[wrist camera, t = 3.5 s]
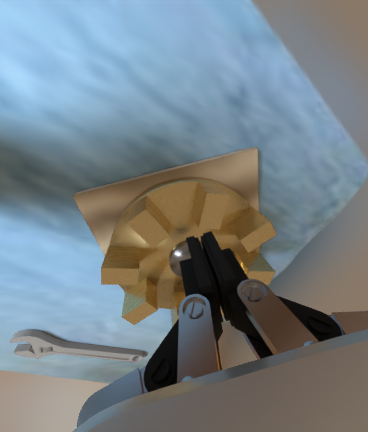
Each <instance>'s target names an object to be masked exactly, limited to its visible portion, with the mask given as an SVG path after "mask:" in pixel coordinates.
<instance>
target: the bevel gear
mask: <svg viewBox="0 0 368 432" xmlns="http://www.w3.org/2000/svg"><path fill="white" fill-rule="evenodd" d="M210 231H212V233H213V235H214V237H215V238H216V240H217V242H218V244H219V246H220V248H221V250H223V249H227V248H230V249H231V251H232V252H233V254H234V255H235V257H236V259H237V260H238V262H239V264H240V265H241V267H242V268H243V270H244V272H245V273H246V275H247V277H248V278H249V279H256V280H259V281H261V282H263V283H264V284H266V285H269V284H270V282H271V280H272V278H273V276H274V274H275V270H274V269H273V268H272V267H271V266H270V265H269V263H268V262H267V261H266V260H265V259H264V257H263V256H262V255H261V254H260V249H261V245H262V244H263V243H264V242H266V241H268V240H269V239H271V238H272V237H274V236H276V235H277V234H276V232H275V230H274V228H273V226H272V224H271V222H270V221H269V220H268V219H267V218H266V217H265V216H263V215H262V214H261V213H260V212H258V211H257V210H256V209H255V208H253V207H252V206H251V205H250V204H249V203H248V202H247V201H246V200H245V199H244V198H243V197H241V196H240V195H239V194H238V193H236V192H235V191H234V190H232V189H231V188H230V187H228V186H226V185H224V184H222V183H220V182H217V181H214V180H211V179H206V178H201V177H181V178H175V179H170V180H167V181H164V182H161V183H158V184H156V185H154V186H152V187H150V188H148V189H146V190H145V191H143V192H142V193H140V194H139V195H138V196H137V197H135V198H134V199H133V200H132V201H131V202H130V203H129V204H128V205H127V206H126V208H125V209H124V210H123V212H122V213H121V215H120V216H119V218H118V220H117V223H116V225H115V227H114V230H113V233H112V237H111V240H110V244H109V246H108V249H107V252H106V255H105V258H104V261H103V264H102V267H101V284H119V285H120V286H121V288H122V289H123V290H124V291H125V297H124V304H123V311H122V318H124V319H126V320H127V321H129V322H130V323H132V324H134V325H135V324H136V323H138V322H140V321H141V320H143V319H144V318H146V317H148V316H149V315H151V314H152V313H154V312H155V311H157V310H158V307H159V308H165V309H171V318H172V327H173V326H174V324H175V323H176V322H177V320H178V319H179V308H180V304H181V302H182V301H183V300H184V299H185V298H186V296H185V290H184V285H183V279H182V274H181V268H180V263H179V261H182V260H186V259H190V258H191V256H190V252H189V248H188V244H187V241H186V238H187V237H191V236H194V237H195V238H196V237H198V238H199V241H200V244H201V246H202V242H201V237H200V236H203V233H206V232H210ZM202 249H203V247H202ZM220 308H221V306H220ZM221 313H222V315H223V316H224V314H223V312H222V309H221Z"/></svg>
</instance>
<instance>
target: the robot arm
mask: <svg viewBox="0 0 368 432" xmlns="http://www.w3.org/2000/svg"><path fill="white" fill-rule="evenodd" d="M200 237H201V242H202V246H201V244H200V241H199V238H198V237H196V238H195V237H194V236H191V237H187V238H186V241H187V244H188V248H189V252H190V256H191V258H190V259H186V260H182V261H179V263H180V268H181V274H182V279H183V285H184V290H185V296H186V298H185V299H184V300H183V301H182V302H181V304H180V308H179V319H178V320H177V322H176V323H175V324H174V326H173V327H172V329H171V330H170V332H169V333H168V334H167V336H166V337H165V339H164V340H163V341H162V343H161V344H160V346H159V347H158V349H157V350H156V351H155V353H154V354H153V356H152V357H151V359H150V360H149V362H148V363H147V365H146V366H145V367H143V368H142V369H140V370H139V368H137V369H135V370H134V371H132V372H130V373H128V374H127V375H125V376H123V377H121V378H120V379H118V380H116V381H114V382H113V383H111V384H109V385H108V386H106V387H104V388H102V389H101V390H99V391H97V392H95V393H94V394H93V395H92V396H90V397H89V398H88V400H87V401H86V402H85V404H84V405H83V407H82V409H81V411H80V413H79V418H78V422H77V428H76V429H75V430H74V431H73V432H368V311H356V312H333V313H332V315H327V314H324V313H322V312H320V311H317V310H315V309H312V308H309V307H307V306H304V305H301V304H298V303H296V302H293V301H290V300H287V299H284V298H282V297H279V296H276V295H275V294H274V293H273V292H272V291H271V289H270V288H269V287H268V286H267V285H266V284H264V283H263V282H261V281H259V280H256V279H249V278H248V277H247V275H246V273H245V272H244V270H243V268H242V267H241V265H240V264H239V262H238V260H237V259H236V257H235V255H234V254H233V252H232V251H231V249H230V248H227V249H223V250H221V248H220V246H219V244H218V242H217V240H216V238H215V237H214V235H213V233H212V231H210V232H206V233H203V236H200ZM202 247H203V249H202ZM220 306H221V308H220ZM221 309H222V312H223V314H224V317H225V320H226V321H228V320H230V323H231V325H232V326H234V327H235V328H236V329H238V330H240V331H241V332H242V333H243V336H244V337H245V339H246V341H247V343H248V345H249V346H250V348H251V350H252V351H253V353H254V355H255V356H256V358H257V360H255V361H252V362H248V363H245V364H242V365H238V366H235V367H231V368H228V369H225V370H223V369H222V363H221V356H220V350H219V343H218V340H219V338H220V336H221V334H222V332H223V330H222V325H221V322H223V318H222V313H221Z"/></svg>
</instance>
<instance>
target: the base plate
mask: <svg viewBox="0 0 368 432" xmlns="http://www.w3.org/2000/svg"><path fill="white" fill-rule="evenodd" d="M181 177H201V178H206V179H211V180H214V181H217V182H220V183H222V184H224V185H226V186H228V187H230V188H231V189H232V190H234V191H235V192H236V193H238V194H239V195H240V196H241V197H243V198H244V199H245V200H246V201H247V202H248V203H249V204H250V205H251V206H252V207H253V208H255V209H256V210H257V211H258V212H259V192H258V148H254V147H250V148H246V149H242V150H238V151H235V152H231V153H227V154H223V155H219V156H215V157H211V158H207V159H203V160H200V161H196V162H192V163H188V164H184V165H180V166H176V167H172V168H168V169H165V170H161V171H157V172H153V173H149V174H145V175H141V176H137V177H133V178H130V179H126V180H122V181H118V182H114V183H110V184H106V185H102V186H98V187H95V188H91V189H87V190H83V191H79V192H76V193H75V194H74V195H73V196H72V197H73V199H74V200H75V202H76V204H77V206H78V208H79V210H80V211H81V213H82V215H83V217H84V219H85V221H86V222H87V224H88V226H89V228H90V230H91V232H92V233H93V235H94V237H95V239H96V241H97V243H98V244H99V246H100V248H101V250H102V252H103V254H104V255H106V252H107V249H108V246H109V244H110V240H111V237H112V233H113V230H114V227H115V225H116V223H117V220H118V218H119V216H120V215H121V213H122V212H123V210H124V209H125V208H126V206H127V205H128V204H129V203H130V202H131V201H132V200H133V199H134V198H135V197H137V196H138V195H139V194H140V193H142V192H143V191H145V190H146V189H148V188H150V187H152V186H154V185H156V184H158V183H161V182H164V181H167V180H170V179H175V178H181ZM124 292H125V291H124ZM158 308H159V307H158Z"/></svg>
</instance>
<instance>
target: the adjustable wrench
mask: <svg viewBox="0 0 368 432" xmlns="http://www.w3.org/2000/svg"><path fill="white" fill-rule="evenodd" d="M23 341H26V342H27V343H29V344H21V345H18V346H17V347H16V349H15V351H14V353H15V354H17V355H20V356H23V357H31V358H37V359H39V358H41V357H43V356H47V355H51V354H66V355H75V356H84V357H93V358H102V359H111V360H120V361H129V362H139V361H141V360H143V352H142V351H140V350H132V349H124V348H116V347H108V346H100V345H92V344H84V343H76V342H68V341H63V340H60V339H58V338H55V337H53V336H50V335H48V334H46V333H44V332H42V331H39V330H34V329H27V330H22V331H18V332H17V333H15V334H14V335H13V337H12V339H11V340H10V343H12V342H23Z"/></svg>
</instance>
